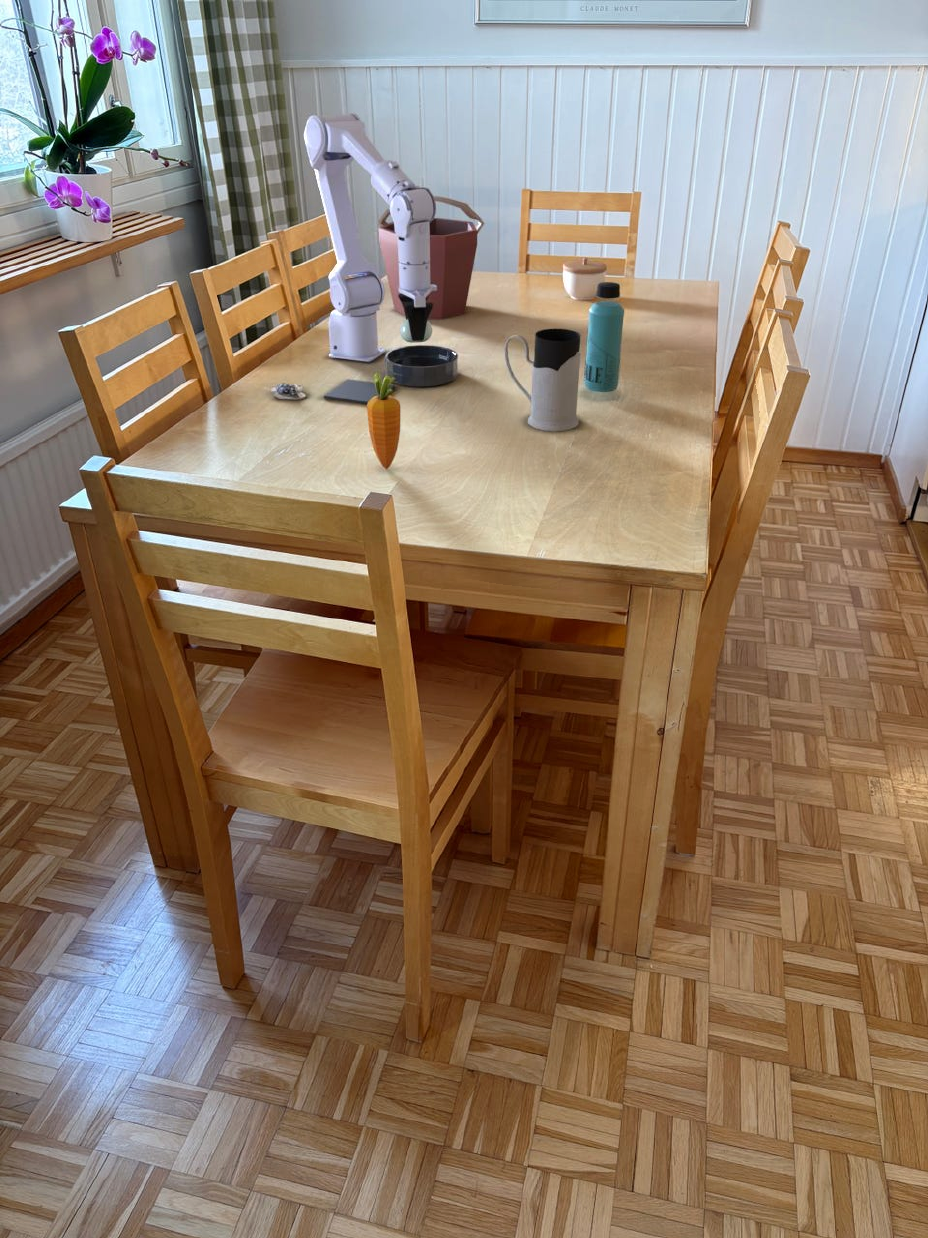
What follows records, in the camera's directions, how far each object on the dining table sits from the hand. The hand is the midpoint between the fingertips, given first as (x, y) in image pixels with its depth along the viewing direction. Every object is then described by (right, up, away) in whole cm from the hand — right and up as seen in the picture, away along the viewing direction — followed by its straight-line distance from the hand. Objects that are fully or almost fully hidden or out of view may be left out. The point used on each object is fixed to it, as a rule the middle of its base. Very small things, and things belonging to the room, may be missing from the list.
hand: (416, 336), depth 177 cm
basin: (+1, -6, +5) cm, 8 cm away
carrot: (-3, -30, -32) cm, 45 cm away
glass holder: (+22, -19, -14) cm, 32 cm away
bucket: (+1, +20, +46) cm, 50 cm away
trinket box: (+39, +27, +57) cm, 74 cm away
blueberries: (-23, -12, -4) cm, 26 cm away
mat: (-10, -12, -3) cm, 16 cm away
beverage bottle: (+34, -12, -4) cm, 37 cm away
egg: (0, +1, -1) cm, 1 cm away
